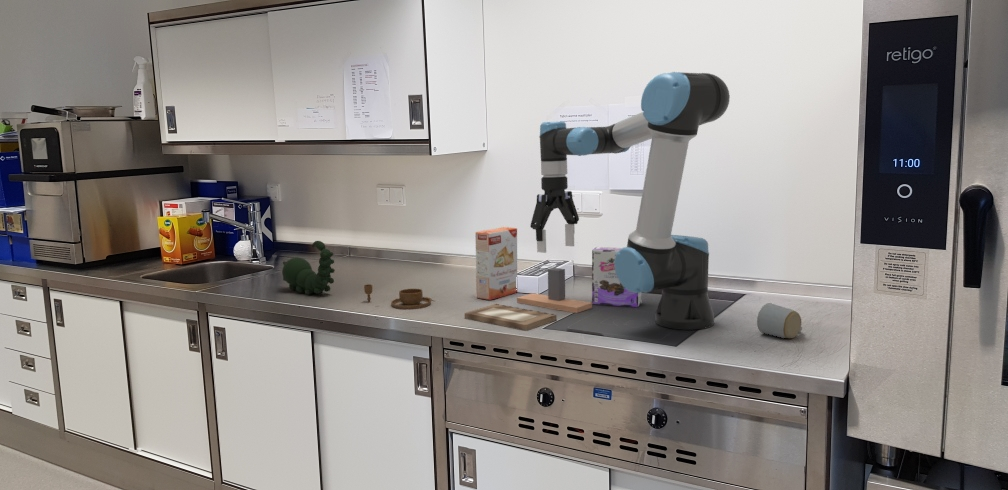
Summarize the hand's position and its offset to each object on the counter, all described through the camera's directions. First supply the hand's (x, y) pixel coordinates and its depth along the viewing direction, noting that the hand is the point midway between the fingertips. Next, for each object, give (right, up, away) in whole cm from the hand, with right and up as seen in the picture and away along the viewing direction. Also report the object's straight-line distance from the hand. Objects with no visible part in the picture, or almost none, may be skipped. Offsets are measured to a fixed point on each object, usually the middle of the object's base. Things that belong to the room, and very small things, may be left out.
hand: (556, 249), depth 221 cm
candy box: (+18, -16, +2) cm, 24 cm away
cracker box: (-17, -15, +16) cm, 28 cm away
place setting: (-46, -17, +10) cm, 50 cm away
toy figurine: (-80, -15, +28) cm, 86 cm away
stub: (-1, -16, +2) cm, 17 cm away
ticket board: (-14, -19, -13) cm, 27 cm away
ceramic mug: (+53, -21, -34) cm, 67 cm away
